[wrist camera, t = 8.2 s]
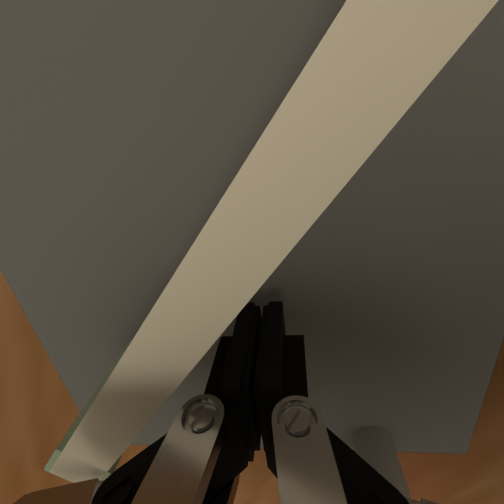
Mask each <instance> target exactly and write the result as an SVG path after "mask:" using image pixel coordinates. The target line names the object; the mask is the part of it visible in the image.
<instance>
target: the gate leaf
mask: <svg viewBox="0 0 504 504" xmlns="http://www.w3.org/2000/svg"><path fill="white" fill-rule="evenodd" d="M498 1H499V0H346V2H345V4H344V5H343V7H342V8H341V10H340V11H339V13H338V15H337V16H336V18H335V19H334V21H333V23H332V24H331V26H330V27H329V29H328V30H327V32H326V34H325V35H324V37H323V38H322V40H321V42H320V43H319V45H318V46H317V48H316V50H315V51H314V53H313V54H312V56H311V57H310V59H309V61H308V62H307V64H306V65H305V67H304V69H303V70H302V72H301V73H300V75H299V76H298V78H297V80H296V81H295V83H294V84H293V86H292V88H291V89H290V91H289V92H288V94H287V96H286V97H285V99H284V100H283V102H282V103H281V105H280V107H279V108H278V110H277V111H276V113H275V115H274V116H273V118H272V119H271V121H270V122H269V124H268V126H267V127H266V129H265V130H264V132H263V134H262V135H261V137H260V138H259V140H258V142H257V143H256V145H255V146H254V148H253V149H252V151H251V153H250V154H249V156H248V157H247V159H246V161H245V162H244V164H243V165H242V167H241V168H240V170H239V172H238V173H237V175H236V176H235V178H234V180H233V181H232V183H231V184H230V186H229V188H228V189H227V191H226V192H225V194H224V195H223V197H222V199H221V200H220V202H219V203H218V205H217V207H216V208H215V210H214V211H213V213H212V214H211V216H210V218H209V219H208V221H207V222H206V224H205V226H204V227H203V229H202V230H201V232H200V234H199V235H198V237H197V238H196V240H195V241H194V243H193V245H192V246H191V248H190V249H189V251H188V253H187V254H186V256H185V257H184V259H183V260H182V262H181V264H180V265H179V267H178V268H177V270H176V272H175V273H174V275H173V276H172V278H171V280H170V281H169V283H168V284H167V286H166V287H165V289H164V291H163V292H162V294H161V295H160V297H159V299H158V300H157V302H156V303H155V305H154V306H153V308H152V310H151V311H150V313H149V314H148V316H147V318H146V319H145V321H144V322H143V324H142V326H141V327H140V329H139V330H138V332H137V333H136V335H135V337H134V338H133V340H130V341H129V342H128V344H127V345H126V346H125V348H124V349H123V351H122V352H121V354H120V355H119V357H118V358H117V360H116V361H115V363H114V364H113V366H112V367H111V369H110V370H109V372H108V373H107V375H106V376H105V378H104V379H103V380H102V382H101V383H100V385H99V386H98V388H97V389H96V391H95V392H94V394H93V395H92V397H91V398H90V400H89V401H88V403H87V404H86V406H85V407H84V409H83V410H82V412H81V413H80V415H79V416H78V417H77V419H76V420H75V422H74V423H73V425H72V426H71V428H70V429H69V431H68V432H67V434H66V435H65V437H64V438H63V440H62V441H61V443H60V444H59V446H58V447H57V449H56V450H55V452H54V453H53V455H52V457H51V458H50V460H49V462H48V463H47V465H46V467H45V468H44V470H45V471H48V472H50V473H52V474H55V475H57V476H59V477H62V478H64V479H66V480H69V481H71V482H73V483H76V482H81V481H85V480H90V479H95V478H98V479H99V481H103V480H105V479H106V478H107V477H108V476H110V475H111V474H112V473H113V472H114V470H115V468H116V466H117V464H118V462H119V460H120V458H121V456H122V454H123V452H124V451H125V450H126V449H127V447H128V446H129V445H130V444H131V443H132V441H133V440H134V439H135V438H136V437H137V435H138V434H139V433H140V432H141V431H142V429H143V428H144V427H145V426H146V425H147V423H148V422H149V421H150V420H151V418H152V417H153V416H154V415H155V414H156V412H157V411H158V410H159V409H160V408H161V406H162V405H163V404H164V403H165V402H166V400H167V399H168V398H169V397H170V396H171V394H172V393H173V392H174V391H175V390H176V388H177V387H178V386H179V385H180V384H181V382H182V381H183V380H184V379H185V378H186V376H187V375H188V374H189V373H190V372H191V370H192V369H193V368H194V367H195V365H196V364H197V363H198V362H199V361H200V359H201V358H202V357H203V356H204V355H205V353H206V352H207V351H208V350H209V349H210V347H211V346H212V345H213V344H214V343H215V341H216V340H217V339H218V338H219V337H220V335H221V334H222V333H223V332H224V331H225V329H226V328H227V327H228V326H229V325H230V323H231V322H232V321H233V320H234V319H235V317H236V316H237V315H238V314H239V312H240V311H241V310H242V309H243V308H244V306H245V305H246V304H247V303H248V302H249V300H250V299H251V298H252V297H253V296H254V294H255V293H256V292H257V291H258V290H259V288H260V287H261V286H262V285H263V284H264V282H265V281H266V280H267V279H268V278H269V276H270V275H271V274H272V273H273V272H274V270H275V269H276V268H277V267H278V266H279V264H280V263H281V262H282V261H283V259H284V258H285V257H286V256H287V255H288V253H289V252H290V251H291V250H292V249H293V247H294V246H295V245H296V244H297V243H298V241H299V240H300V239H301V238H302V237H303V235H304V234H305V233H306V232H307V231H308V229H309V228H310V227H311V226H312V225H313V223H314V222H315V221H316V220H317V219H318V217H319V216H320V215H321V214H322V213H323V211H324V210H325V209H326V208H327V206H328V205H329V204H330V203H331V202H332V200H333V199H334V198H335V197H336V196H337V194H338V193H339V192H340V191H341V190H342V188H343V187H344V186H345V185H346V184H347V182H348V181H349V180H350V179H351V178H352V176H353V175H354V174H355V173H356V172H357V170H358V169H359V168H360V167H361V166H362V164H363V163H364V162H365V161H366V160H367V158H368V157H369V156H370V155H371V154H372V152H373V151H374V150H375V149H376V147H377V146H378V145H379V144H380V143H381V141H382V140H383V139H384V138H385V137H386V135H387V134H388V133H389V132H390V131H391V129H392V128H393V127H394V126H395V125H396V123H397V122H398V121H399V120H400V119H401V117H402V116H403V115H404V114H405V113H406V111H407V110H408V109H409V108H410V107H411V105H412V104H413V103H414V102H415V101H416V99H417V98H418V97H419V96H420V94H421V93H422V92H423V91H424V90H425V88H426V87H427V86H428V85H429V84H430V82H431V81H432V80H433V79H434V78H435V76H436V75H437V74H438V73H439V72H440V70H441V69H442V68H443V67H444V66H445V64H446V63H447V62H448V61H449V60H450V58H451V57H452V56H453V55H454V54H455V52H456V51H457V50H458V49H459V48H460V46H461V45H462V44H463V43H464V41H465V40H466V39H467V38H468V37H469V35H470V34H471V33H472V32H473V31H474V29H475V28H476V27H477V26H478V25H479V23H480V22H481V21H482V20H483V19H484V17H485V16H486V15H487V14H488V13H489V11H490V10H491V9H492V8H493V7H494V5H495V4H496V3H497V2H498Z"/></svg>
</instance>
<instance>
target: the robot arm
mask: <svg viewBox="0 0 504 504" xmlns="http://www.w3.org/2000/svg"><path fill="white" fill-rule="evenodd" d="M261 435H262V441H263V447H264V451H265V453H266V459H267V465H268V468H269V469H270V470H271V471H272V473H273V474H274V475H275V476H276V478H277V479H278V486H279V496H280V504H438V503H435V502H432V501H429V500H425V499H422V498H421V501H420V502H419V501H416V500H413V499H409V498H406V497H404V496H403V495H402V494H401V493H400V491H399V490H398V489H397V488H395V487H394V486H393V485H392V484H391V483H390V482H389V481H387V480H386V479H385V478H384V477H383V476H382V475H381V474H379V473H378V472H377V471H376V470H375V469H374V468H373V467H372V466H370V465H369V464H368V463H367V462H366V461H365V460H364V459H362V458H361V457H360V456H359V455H358V454H357V453H356V452H354V451H353V450H352V449H351V448H350V447H349V446H348V445H346V444H345V443H344V442H343V441H342V440H341V439H340V438H338V437H337V436H336V435H335V434H334V433H333V432H332V431H331V430H329V429H328V428H327V427H326V425H325V422H324V418H323V415H322V413H321V410H320V408H319V407H318V406H317V405H316V403H315V402H313V401H312V400H310V399H309V398H308V387H307V373H306V360H305V346H304V335H286V332H285V321H284V311H283V302H282V301H272V302H269V303H268V305H264V306H263V313H262V316H261V309H260V306H255V303H254V302H248V303H247V304H246V305H245V306H244V308H243V309H242V310H241V311H240V312H239V314H238V315H237V319H236V323H235V327H234V331H233V335H232V336H222V337H221V338H220V341H219V344H218V348H217V351H216V354H215V358H214V361H213V365H212V368H211V371H210V375H209V378H208V381H207V385H206V388H205V392H204V394H202V395H198V396H195V397H193V398H191V399H190V400H188V401H187V402H186V403H185V404H184V405H183V406H182V407H181V409H180V410H179V412H178V414H177V416H176V418H175V420H174V422H173V424H172V425H171V427H170V429H169V431H168V433H166V434H165V435H164V436H162V437H161V438H159V439H158V440H157V441H155V442H154V443H153V444H151V445H150V446H149V447H147V448H146V449H144V450H143V451H142V452H140V453H139V454H138V455H136V456H135V457H134V458H132V459H131V460H129V461H128V462H127V463H125V464H124V465H123V466H121V467H120V468H118V469H117V470H116V471H114V472H113V473H112V474H111V475H110V476H108V477H107V478H106V479H105V480H103V481H99V479H98V478H95V479H90V480H85V481H81V482H76V483H71V484H67V485H62V486H57V487H53V488H48V489H43V490H39V491H34V492H31V493H29V494H26V495H24V496H23V497H21V498H20V499H18V500H17V501H16V502H14V503H13V504H233V502H234V498H235V495H236V491H237V487H238V483H239V476H240V473H241V472H242V471H243V470H244V469H245V468H246V467H247V466H248V461H253V458H254V450H260V444H261Z"/></svg>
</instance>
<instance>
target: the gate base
mask: <svg viewBox="0 0 504 504" xmlns="http://www.w3.org/2000/svg"><path fill="white" fill-rule="evenodd" d="M345 2H346V0H0V270H1V271H2V273H3V275H4V277H5V279H6V280H7V282H8V284H9V286H10V288H11V289H12V291H13V293H14V295H15V297H16V298H17V300H18V302H19V304H20V306H21V307H22V309H23V311H24V313H25V314H26V316H27V318H28V320H29V322H30V323H31V325H32V327H33V329H34V331H35V332H36V334H37V336H38V338H39V340H40V341H41V343H42V345H43V347H44V348H45V350H46V352H47V354H48V356H49V357H50V359H51V361H52V363H53V365H54V366H55V368H56V370H57V372H58V374H59V375H60V377H61V379H62V381H63V383H64V384H65V386H66V388H67V390H68V391H69V393H70V395H71V397H72V399H73V400H74V402H75V404H76V406H77V408H78V409H79V411H80V413H81V412H82V410H83V409H84V407H85V406H86V404H87V403H88V401H89V400H90V398H91V397H92V395H93V394H94V392H95V391H96V389H97V388H98V386H99V385H100V383H101V382H102V380H103V379H104V378H105V376H106V375H107V373H108V372H109V370H110V369H111V367H112V366H113V364H114V363H115V361H116V360H117V358H118V357H119V355H120V354H121V352H122V351H123V349H124V348H125V346H126V345H127V344H128V342H129V341H130V340H133V338H134V337H135V335H136V333H137V332H138V330H139V329H140V327H141V326H142V324H143V322H144V321H145V319H146V318H147V316H148V314H149V313H150V311H151V310H152V308H153V306H154V305H155V303H156V302H157V300H158V299H159V297H160V295H161V294H162V292H163V291H164V289H165V287H166V286H167V284H168V283H169V281H170V280H171V278H172V276H173V275H174V273H175V272H176V270H177V268H178V267H179V265H180V264H181V262H182V260H183V259H184V257H185V256H186V254H187V253H188V251H189V249H190V248H191V246H192V245H193V243H194V241H195V240H196V238H197V237H198V235H199V234H200V232H201V230H202V229H203V227H204V226H205V224H206V222H207V221H208V219H209V218H210V216H211V214H212V213H213V211H214V210H215V208H216V207H217V205H218V203H219V202H220V200H221V199H222V197H223V195H224V194H225V192H226V191H227V189H228V188H229V186H230V184H231V183H232V181H233V180H234V178H235V176H236V175H237V173H238V172H239V170H240V168H241V167H242V165H243V164H244V162H245V161H246V159H247V157H248V156H249V154H250V153H251V151H252V149H253V148H254V146H255V145H256V143H257V142H258V140H259V138H260V137H261V135H262V134H263V132H264V130H265V129H266V127H267V126H268V124H269V122H270V121H271V119H272V118H273V116H274V115H275V113H276V111H277V110H278V108H279V107H280V105H281V103H282V102H283V100H284V99H285V97H286V96H287V94H288V92H289V91H290V89H291V88H292V86H293V84H294V83H295V81H296V80H297V78H298V76H299V75H300V73H301V72H302V70H303V69H304V67H305V65H306V64H307V62H308V61H309V59H310V57H311V56H312V54H313V53H314V51H315V50H316V48H317V46H318V45H319V43H320V42H321V40H322V38H323V37H324V35H325V34H326V32H327V30H328V29H329V27H330V26H331V24H332V23H333V21H334V19H335V18H336V16H337V15H338V13H339V11H340V10H341V8H342V7H343V5H344V4H345ZM272 301H282V302H283V311H284V321H285V332H286V335H304V346H305V360H306V373H307V387H308V398H309V399H310V400H312V401H313V402H315V403H316V405H317V406H318V407H319V408H320V410H321V413H322V415H323V418H324V422H325V425H326V427H327V428H328V429H329V430H331V431H332V432H333V433H334V434H335V435H336V436H337V437H338V438H340V439H341V440H342V441H343V442H344V443H345V444H346V445H348V446H349V447H350V448H351V449H352V450H355V451H356V453H357V454H358V455H359V456H360V457H361V458H362V459H364V460H365V461H366V462H367V463H368V464H369V465H370V466H372V467H373V468H374V469H375V470H376V471H377V472H378V473H379V474H381V475H382V476H383V477H384V478H385V479H386V480H387V481H389V482H390V483H391V484H392V485H393V486H394V487H395V488H397V489H398V490H399V491H400V493H401V494H402V495H403V496H404V497H406V498H409V499H411V495H410V492H409V489H408V486H407V483H406V480H405V477H404V474H403V471H402V468H401V465H400V462H399V459H398V456H397V453H396V452H424V453H459V454H467V451H468V448H469V445H470V441H471V438H472V435H473V432H474V429H475V426H476V423H477V419H478V416H479V413H480V410H481V407H482V404H483V401H484V397H485V394H486V391H487V388H488V385H489V382H490V379H491V375H492V372H493V369H494V366H495V363H496V360H497V357H498V353H499V350H500V347H501V344H502V341H503V338H504V0H499V1H498V2H497V3H496V4H495V5H494V7H493V8H492V9H491V10H490V11H489V13H488V14H487V15H486V16H485V17H484V19H483V20H482V21H481V22H480V23H479V25H478V26H477V27H476V28H475V29H474V31H473V32H472V33H471V34H470V35H469V37H468V38H467V39H466V40H465V41H464V43H463V44H462V45H461V46H460V48H459V49H458V50H457V51H456V52H455V54H454V55H453V56H452V57H451V58H450V60H449V61H448V62H447V63H446V64H445V66H444V67H443V68H442V69H441V70H440V72H439V73H438V74H437V75H436V76H435V78H434V79H433V80H432V81H431V82H430V84H429V85H428V86H427V87H426V88H425V90H424V91H423V92H422V93H421V94H420V96H419V97H418V98H417V99H416V101H415V102H414V103H413V104H412V105H411V107H410V108H409V109H408V110H407V111H406V113H405V114H404V115H403V116H402V117H401V119H400V120H399V121H398V122H397V123H396V125H395V126H394V127H393V128H392V129H391V131H390V132H389V133H388V134H387V135H386V137H385V138H384V139H383V140H382V141H381V143H380V144H379V145H378V146H377V147H376V149H375V150H374V151H373V152H372V154H371V155H370V156H369V157H368V158H367V160H366V161H365V162H364V163H363V164H362V166H361V167H360V168H359V169H358V170H357V172H356V173H355V174H354V175H353V176H352V178H351V179H350V180H349V181H348V182H347V184H346V185H345V186H344V187H343V188H342V190H341V191H340V192H339V193H338V194H337V196H336V197H335V198H334V199H333V200H332V202H331V203H330V204H329V205H328V206H327V208H326V209H325V210H324V211H323V213H322V214H321V215H320V216H319V217H318V219H317V220H316V221H315V222H314V223H313V225H312V226H311V227H310V228H309V229H308V231H307V232H306V233H305V234H304V235H303V237H302V238H301V239H300V240H299V241H298V243H297V244H296V245H295V246H294V247H293V249H292V250H291V251H290V252H289V253H288V255H287V256H286V257H285V258H284V259H283V261H282V262H281V263H280V264H279V266H278V267H277V268H276V269H275V270H274V272H273V273H272V274H271V275H270V276H269V278H268V279H267V280H266V281H265V282H264V284H263V285H262V286H261V287H260V288H259V290H258V291H257V292H256V293H255V294H254V296H253V297H252V298H251V299H250V300H249V302H254V303H255V306H260V309H261V316H262V313H263V306H264V305H268V303H269V302H272ZM236 319H237V316H236V317H235V319H234V320H233V321H232V322H231V323H230V325H229V326H228V327H227V328H226V329H225V331H224V332H223V333H222V334H221V335H220V337H219V338H218V339H217V340H216V341H215V343H214V344H213V345H212V346H211V347H210V349H209V350H208V351H207V352H206V353H205V355H204V356H203V357H202V358H201V359H200V361H199V362H198V363H197V364H196V365H195V367H194V368H193V369H192V370H191V372H190V373H189V374H188V375H187V376H186V378H185V379H184V380H183V381H182V382H181V384H180V385H179V386H178V387H177V388H176V390H175V391H174V392H173V393H172V394H171V396H170V397H169V398H168V399H167V400H166V402H165V403H164V404H163V405H162V406H161V408H160V409H159V410H158V411H157V412H156V414H155V415H154V416H153V417H152V418H151V420H150V421H149V422H148V423H147V425H146V426H145V427H144V428H143V429H142V431H141V432H140V433H139V434H138V435H137V437H136V438H135V439H134V440H133V441H132V443H131V444H146V445H151V444H153V443H154V442H155V441H157V440H158V439H159V438H161V437H162V436H164V435H165V434H166V433H168V431H169V429H170V427H171V425H172V424H173V422H174V420H175V418H176V416H177V414H178V412H179V410H180V409H181V407H182V406H183V405H184V404H185V403H186V402H187V401H188V400H190V399H191V398H193V397H195V396H198V395H202V394H204V392H205V388H206V385H207V381H208V378H209V375H210V371H211V368H212V365H213V361H214V358H215V354H216V351H217V348H218V344H219V341H220V338H221V337H222V336H232V335H233V331H234V327H235V323H236ZM260 448H264V447H263V441H262V435H261V444H260Z"/></svg>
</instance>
